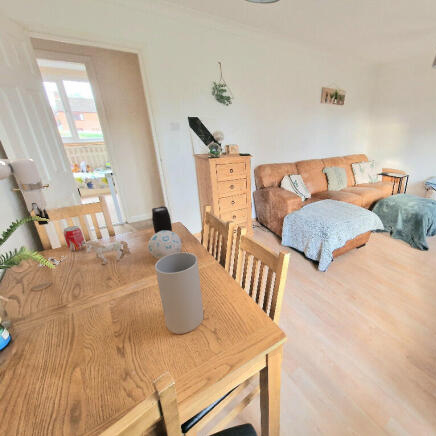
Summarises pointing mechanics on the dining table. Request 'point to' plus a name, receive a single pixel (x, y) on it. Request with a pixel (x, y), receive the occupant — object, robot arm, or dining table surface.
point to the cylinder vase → (180, 291)
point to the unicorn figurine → (106, 249)
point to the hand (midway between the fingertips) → (44, 222)
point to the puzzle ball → (164, 244)
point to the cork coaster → (41, 286)
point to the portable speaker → (161, 219)
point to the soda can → (74, 238)
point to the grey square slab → (53, 261)
